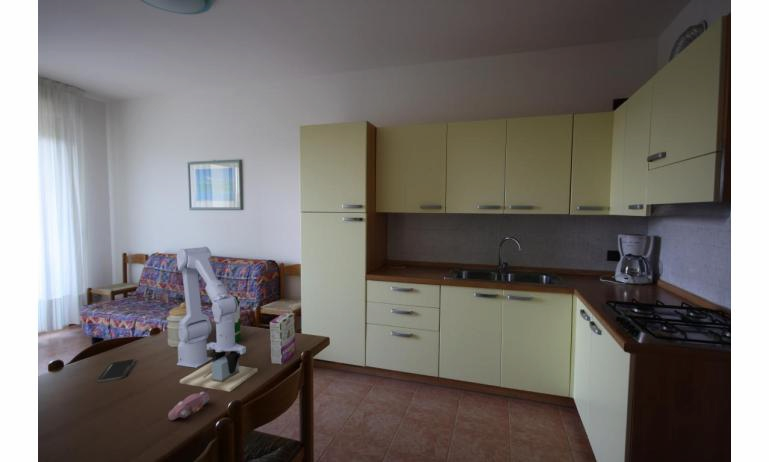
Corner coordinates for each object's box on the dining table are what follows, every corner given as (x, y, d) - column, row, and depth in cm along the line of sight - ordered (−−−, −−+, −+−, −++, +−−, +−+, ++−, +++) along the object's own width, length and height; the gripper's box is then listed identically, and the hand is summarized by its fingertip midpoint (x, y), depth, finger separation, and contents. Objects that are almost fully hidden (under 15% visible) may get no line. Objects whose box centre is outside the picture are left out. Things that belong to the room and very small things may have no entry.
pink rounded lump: (173, 429, 91) (178, 410, 89) (165, 417, 93) (170, 399, 91) (208, 410, 99) (214, 393, 97) (200, 400, 101) (205, 382, 99)
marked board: (179, 383, 112) (179, 380, 112) (211, 364, 126) (211, 361, 126) (229, 391, 107) (229, 388, 107) (257, 371, 120) (257, 368, 120)
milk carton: (233, 346, 142) (231, 300, 141) (213, 345, 144) (211, 299, 142) (244, 338, 151) (243, 295, 150) (225, 337, 152) (224, 294, 151)
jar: (191, 348, 141) (189, 306, 140) (160, 347, 141) (158, 306, 140) (207, 336, 154) (206, 298, 153) (179, 336, 154) (178, 298, 153)
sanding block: (212, 380, 112) (211, 363, 111) (229, 369, 119) (228, 353, 119) (222, 382, 111) (221, 364, 110) (238, 371, 118) (238, 354, 118)
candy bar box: (284, 351, 137) (283, 312, 136) (295, 352, 136) (295, 313, 135) (270, 363, 126) (268, 321, 125) (282, 365, 125) (281, 322, 124)
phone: (96, 381, 112) (111, 362, 126) (96, 384, 113) (111, 365, 126) (125, 376, 116) (136, 358, 129) (125, 379, 116) (136, 361, 129)
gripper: (199, 335, 113) (200, 374, 114) (235, 339, 109) (236, 379, 110) (214, 328, 119) (216, 365, 120) (249, 331, 116) (250, 370, 116)
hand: (226, 371), depth 115 cm, fingers closed on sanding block, 4 cm apart
